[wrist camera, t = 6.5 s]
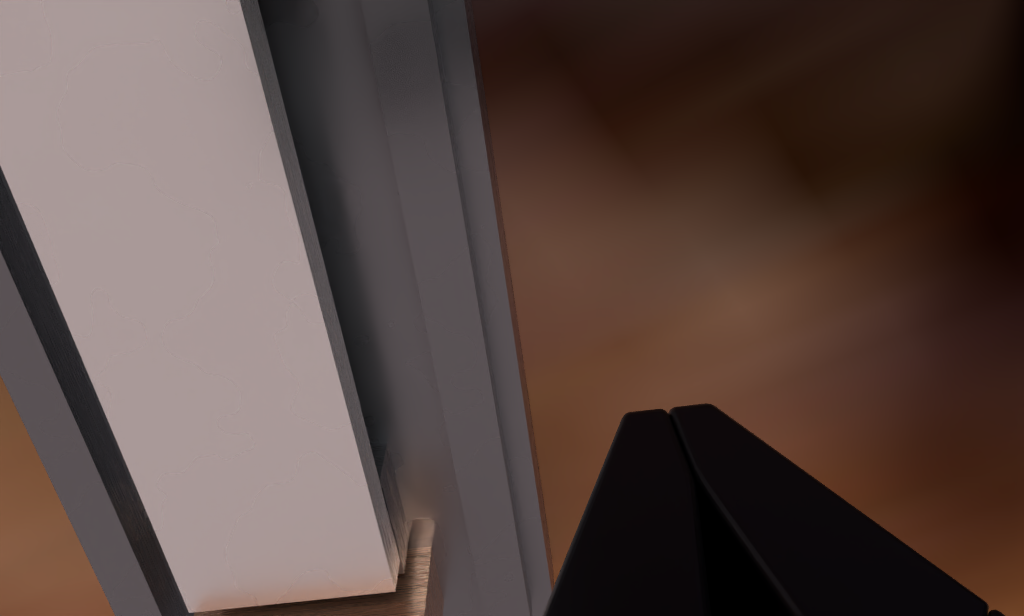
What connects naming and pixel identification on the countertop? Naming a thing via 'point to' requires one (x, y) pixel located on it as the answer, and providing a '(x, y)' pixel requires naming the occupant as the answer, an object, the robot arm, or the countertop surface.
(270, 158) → the bar
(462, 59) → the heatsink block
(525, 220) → the countertop surface
